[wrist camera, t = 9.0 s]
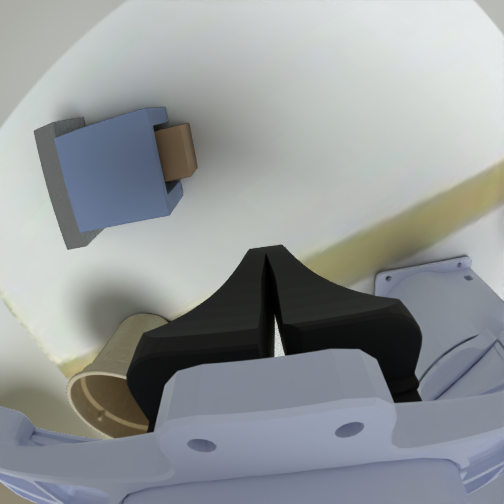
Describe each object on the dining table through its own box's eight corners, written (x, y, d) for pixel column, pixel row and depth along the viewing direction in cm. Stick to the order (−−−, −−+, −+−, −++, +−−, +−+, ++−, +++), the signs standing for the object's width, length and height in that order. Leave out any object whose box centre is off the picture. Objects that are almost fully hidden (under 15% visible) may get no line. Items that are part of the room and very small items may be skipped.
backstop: (83, 117, 18) (52, 122, 15) (109, 223, 22) (86, 246, 18) (65, 123, 18) (33, 130, 15) (92, 226, 22) (67, 249, 18)
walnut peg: (189, 122, 19) (180, 125, 16) (198, 166, 20) (190, 176, 18) (106, 144, 19) (87, 150, 17) (116, 184, 21) (99, 196, 18)
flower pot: (165, 278, 24) (132, 357, 16) (225, 359, 27) (219, 440, 20) (84, 316, 25) (43, 385, 18) (145, 383, 29) (125, 453, 21)
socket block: (165, 107, 18) (145, 108, 14) (183, 195, 21) (169, 215, 17) (84, 130, 18) (54, 138, 15) (105, 211, 21) (80, 232, 17)
